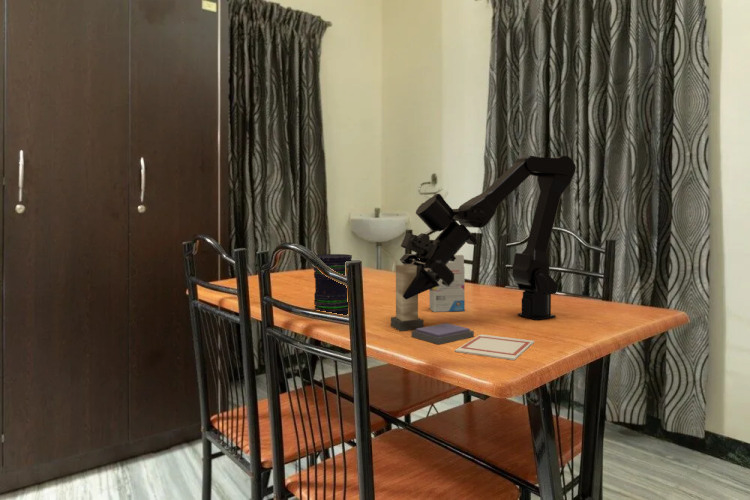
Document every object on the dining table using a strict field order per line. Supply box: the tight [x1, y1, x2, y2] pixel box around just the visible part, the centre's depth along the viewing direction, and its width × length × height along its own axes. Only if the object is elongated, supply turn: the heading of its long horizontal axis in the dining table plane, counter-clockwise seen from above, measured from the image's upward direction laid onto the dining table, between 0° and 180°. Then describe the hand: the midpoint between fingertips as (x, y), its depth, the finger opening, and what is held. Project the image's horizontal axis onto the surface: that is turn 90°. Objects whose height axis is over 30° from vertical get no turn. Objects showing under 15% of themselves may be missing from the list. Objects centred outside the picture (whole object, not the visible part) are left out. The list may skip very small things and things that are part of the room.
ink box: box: [429, 254, 466, 313], centre depth 133 cm, size 8×5×15 cm, turn 96°
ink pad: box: [411, 322, 475, 346], centre depth 104 cm, size 10×8×2 cm
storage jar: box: [313, 253, 353, 315], centre depth 129 cm, size 10×10×15 cm
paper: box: [454, 334, 535, 361], centre depth 96 cm, size 14×11×1 cm
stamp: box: [390, 264, 424, 332], centre depth 113 cm, size 6×6×14 cm
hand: (400, 296), depth 112 cm, fingers closed on stamp, 4 cm apart
